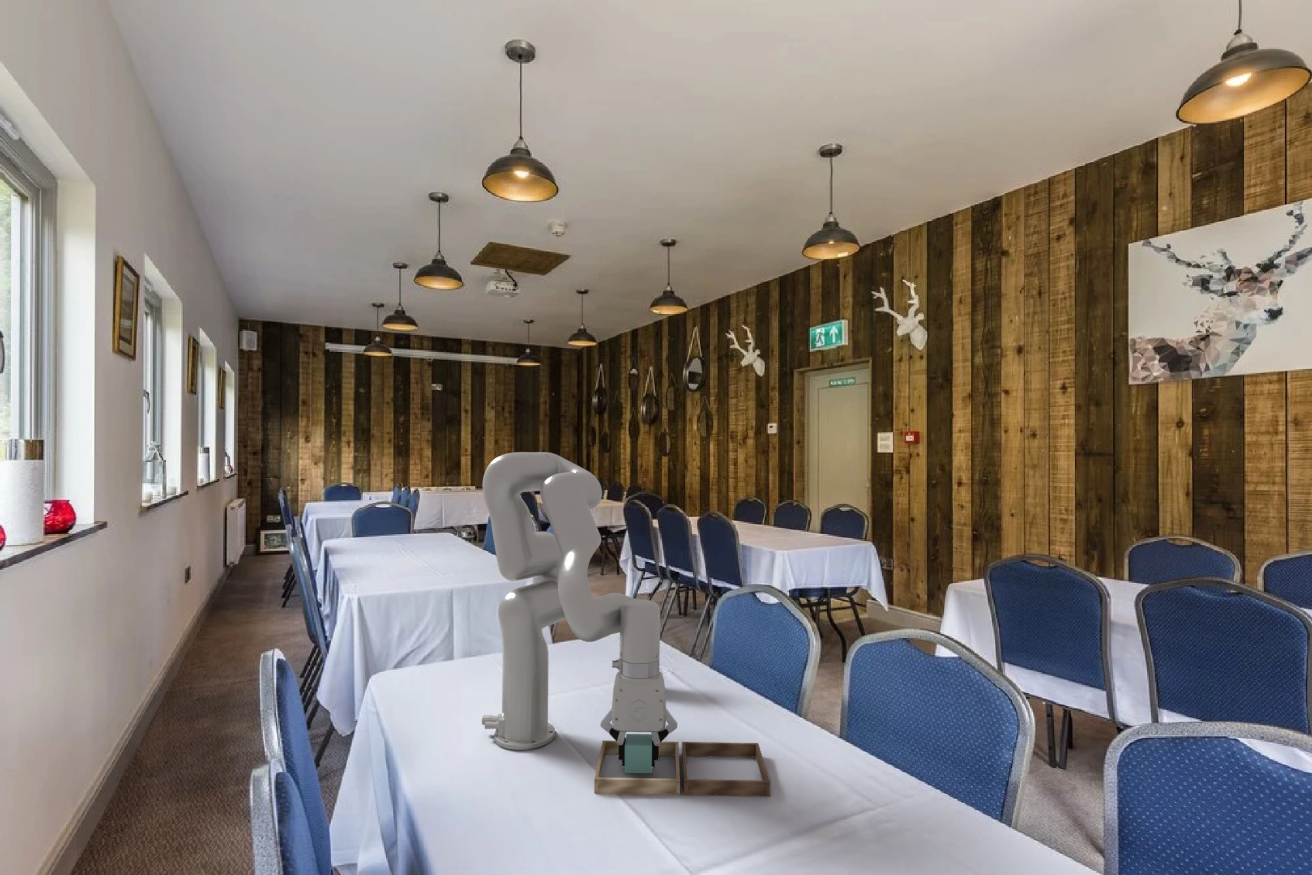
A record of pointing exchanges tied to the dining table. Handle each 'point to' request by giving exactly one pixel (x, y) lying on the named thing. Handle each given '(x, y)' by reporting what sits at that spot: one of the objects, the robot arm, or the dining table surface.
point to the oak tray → (637, 783)
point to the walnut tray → (725, 785)
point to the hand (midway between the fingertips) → (638, 762)
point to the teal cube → (638, 753)
